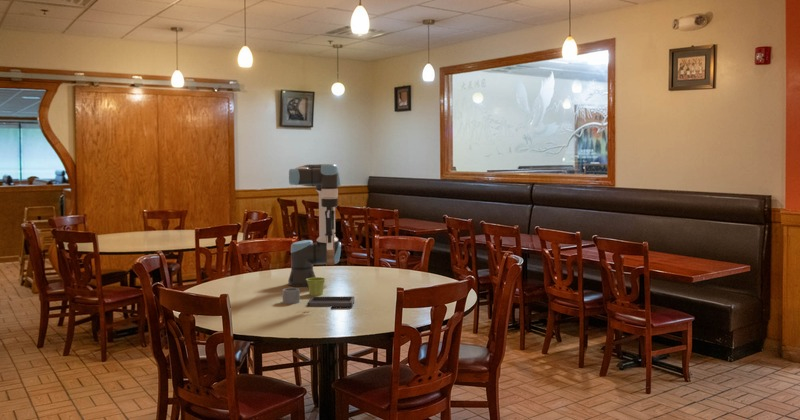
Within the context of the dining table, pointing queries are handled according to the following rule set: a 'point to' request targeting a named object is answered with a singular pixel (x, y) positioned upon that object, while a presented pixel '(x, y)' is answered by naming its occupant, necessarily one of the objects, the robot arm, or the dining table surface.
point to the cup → (291, 295)
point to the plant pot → (315, 285)
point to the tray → (332, 302)
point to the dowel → (330, 252)
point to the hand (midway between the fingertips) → (330, 249)
